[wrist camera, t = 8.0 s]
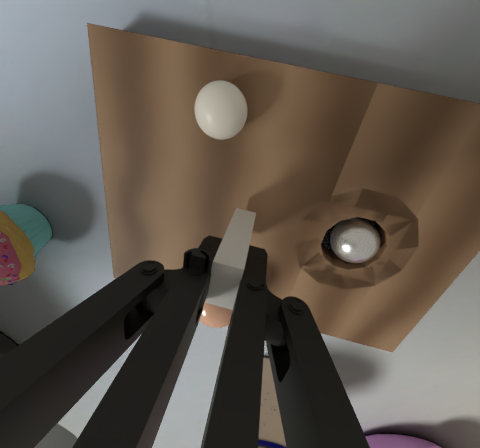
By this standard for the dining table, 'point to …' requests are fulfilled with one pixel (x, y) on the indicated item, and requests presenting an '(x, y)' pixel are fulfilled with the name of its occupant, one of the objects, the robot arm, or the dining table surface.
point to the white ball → (220, 110)
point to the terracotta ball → (215, 316)
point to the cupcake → (20, 241)
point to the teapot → (398, 441)
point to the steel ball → (355, 240)
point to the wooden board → (290, 177)
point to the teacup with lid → (269, 412)
